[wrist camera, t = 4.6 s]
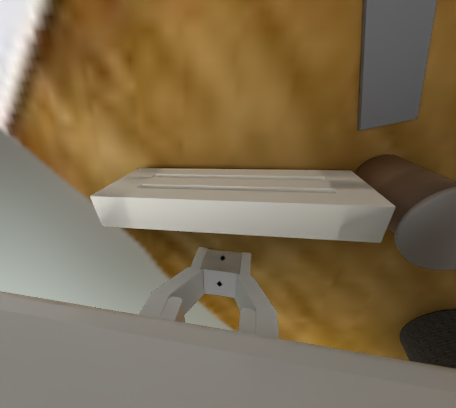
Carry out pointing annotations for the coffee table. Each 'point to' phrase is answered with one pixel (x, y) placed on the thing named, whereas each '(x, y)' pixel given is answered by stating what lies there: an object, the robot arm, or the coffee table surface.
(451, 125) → the coffee table surface
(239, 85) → the coffee table surface
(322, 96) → the coffee table surface
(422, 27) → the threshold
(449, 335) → the coffee cup
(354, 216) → the white long block
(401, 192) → the hinge post
